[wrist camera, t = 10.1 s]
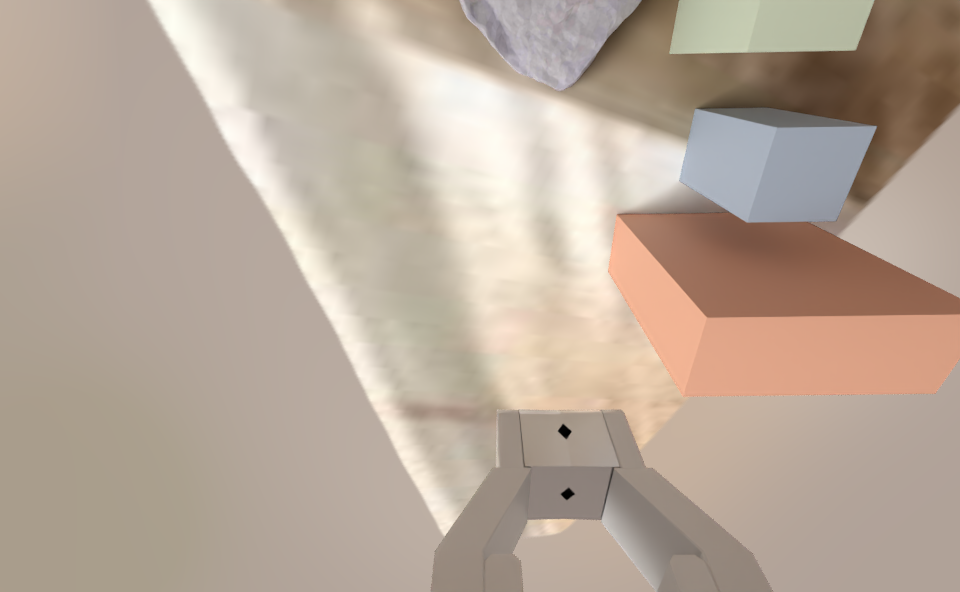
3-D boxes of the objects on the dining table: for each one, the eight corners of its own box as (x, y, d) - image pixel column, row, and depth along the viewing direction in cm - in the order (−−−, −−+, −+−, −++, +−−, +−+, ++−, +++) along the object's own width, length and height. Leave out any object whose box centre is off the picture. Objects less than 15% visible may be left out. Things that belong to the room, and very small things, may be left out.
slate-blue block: (695, 108, 35) (777, 127, 25) (767, 107, 35) (877, 126, 25) (679, 181, 38) (746, 222, 28) (745, 179, 38) (836, 221, 28)
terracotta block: (616, 214, 39) (707, 317, 24) (787, 211, 39) (991, 314, 23) (608, 271, 42) (683, 396, 27) (766, 269, 42) (935, 393, 26)
